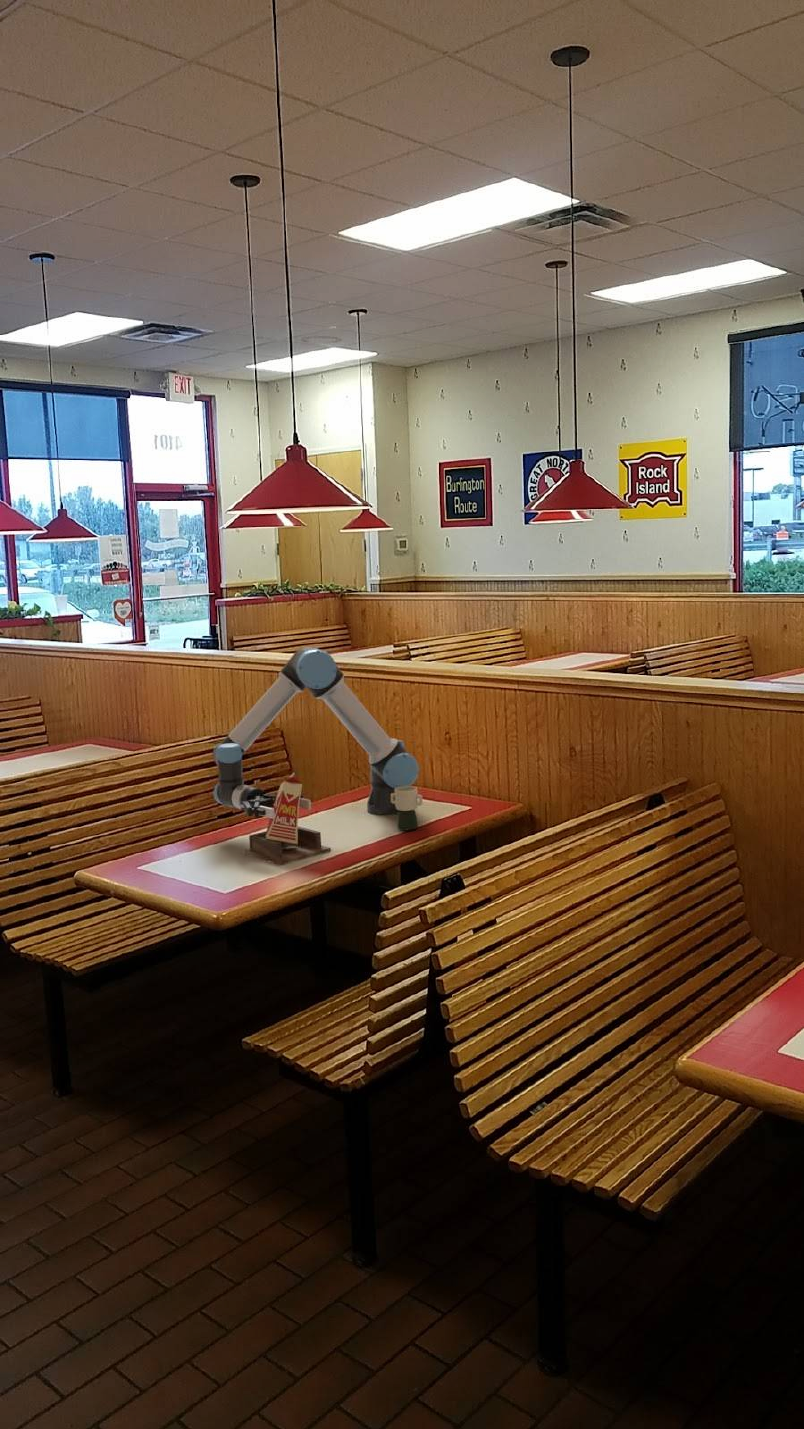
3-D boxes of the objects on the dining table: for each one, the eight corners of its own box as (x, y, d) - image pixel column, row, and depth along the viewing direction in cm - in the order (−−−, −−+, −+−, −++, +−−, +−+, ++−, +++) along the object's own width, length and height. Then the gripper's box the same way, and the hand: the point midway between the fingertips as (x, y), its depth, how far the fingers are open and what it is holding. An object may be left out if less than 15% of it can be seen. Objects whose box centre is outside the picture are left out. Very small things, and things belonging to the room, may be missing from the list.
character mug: (428, 827, 342) (426, 786, 340) (418, 833, 336) (416, 792, 334) (397, 825, 347) (395, 784, 345) (387, 831, 341) (384, 790, 339)
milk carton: (297, 844, 318) (310, 775, 319) (265, 838, 316) (278, 769, 318) (296, 841, 327) (308, 774, 328) (265, 836, 325) (277, 769, 327)
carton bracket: (294, 840, 335) (293, 823, 335) (330, 851, 322) (329, 832, 321) (244, 854, 324) (243, 835, 323) (280, 865, 310) (278, 846, 309)
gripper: (283, 803, 343) (326, 813, 327) (216, 819, 327) (257, 830, 311) (282, 779, 342) (324, 788, 326) (214, 794, 326) (255, 804, 310)
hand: (291, 809), depth 318 cm, fingers open, 12 cm apart
